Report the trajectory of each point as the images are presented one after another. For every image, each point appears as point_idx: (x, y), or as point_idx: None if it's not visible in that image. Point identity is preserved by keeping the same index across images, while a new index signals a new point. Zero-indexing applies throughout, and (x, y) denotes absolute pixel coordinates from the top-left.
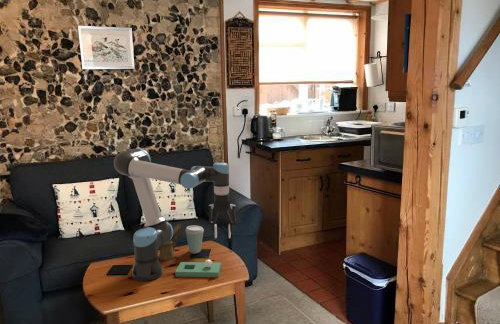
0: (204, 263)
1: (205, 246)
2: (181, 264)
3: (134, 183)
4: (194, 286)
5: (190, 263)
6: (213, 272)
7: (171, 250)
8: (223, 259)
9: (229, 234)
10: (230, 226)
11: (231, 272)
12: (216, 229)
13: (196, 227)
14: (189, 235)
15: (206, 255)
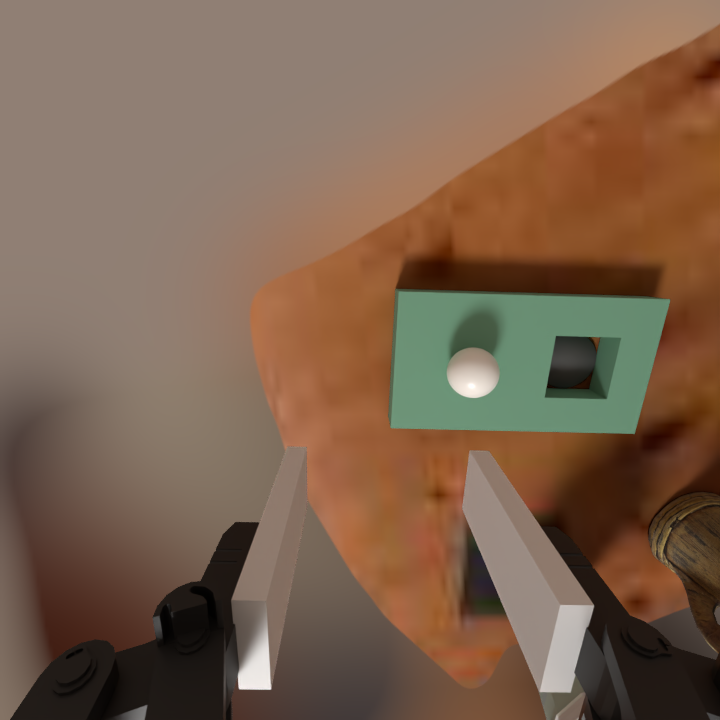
0: (498, 367)
1: (489, 640)
2: (630, 400)
3: None
4: (531, 160)
5: (575, 414)
6: (429, 292)
7: (704, 549)
8: (384, 503)
9: (286, 477)
10: (231, 604)
11: (325, 349)
12: (506, 567)
13: None
14: None
15: None
